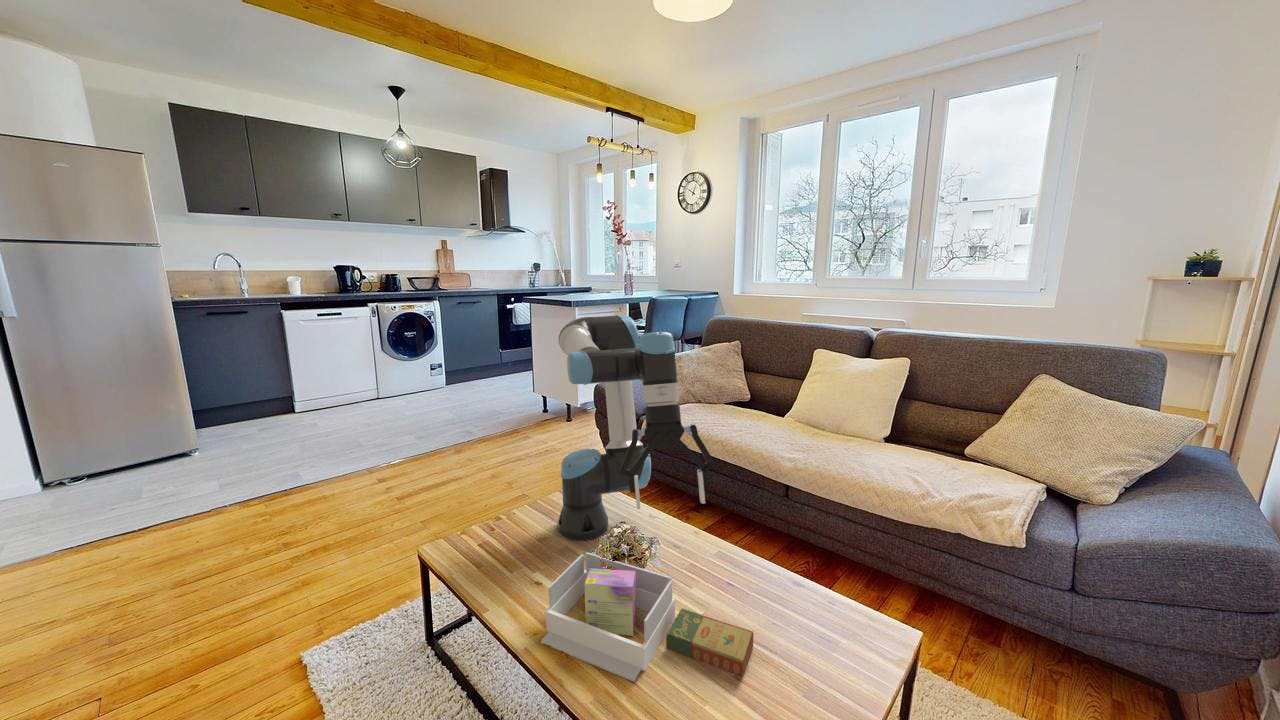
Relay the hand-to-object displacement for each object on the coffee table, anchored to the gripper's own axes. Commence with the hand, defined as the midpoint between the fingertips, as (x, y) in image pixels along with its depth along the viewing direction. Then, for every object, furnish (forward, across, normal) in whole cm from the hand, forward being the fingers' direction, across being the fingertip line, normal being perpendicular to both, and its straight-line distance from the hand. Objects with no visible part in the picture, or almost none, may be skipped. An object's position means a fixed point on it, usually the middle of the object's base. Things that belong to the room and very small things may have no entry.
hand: (670, 505), depth 98 cm
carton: (+30, +5, -1) cm, 30 cm away
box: (+26, -15, +6) cm, 31 cm away
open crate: (+26, -16, +5) cm, 31 cm away
